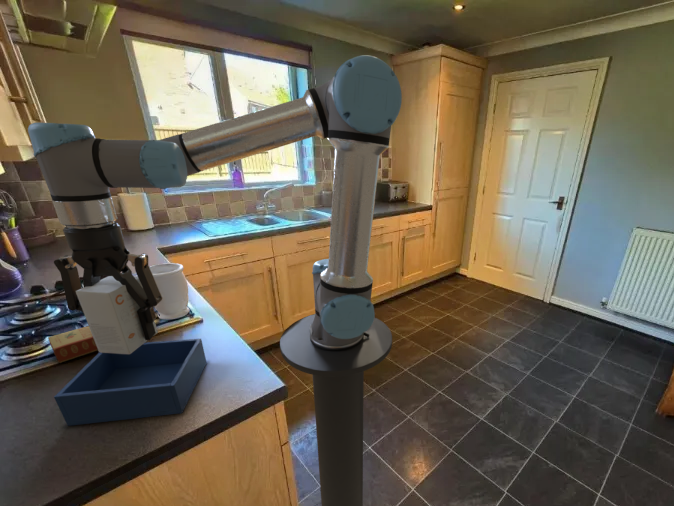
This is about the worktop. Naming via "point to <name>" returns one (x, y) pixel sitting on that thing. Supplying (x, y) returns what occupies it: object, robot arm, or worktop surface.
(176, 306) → the jar
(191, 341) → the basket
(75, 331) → the carton
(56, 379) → the worktop surface
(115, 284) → the small box
